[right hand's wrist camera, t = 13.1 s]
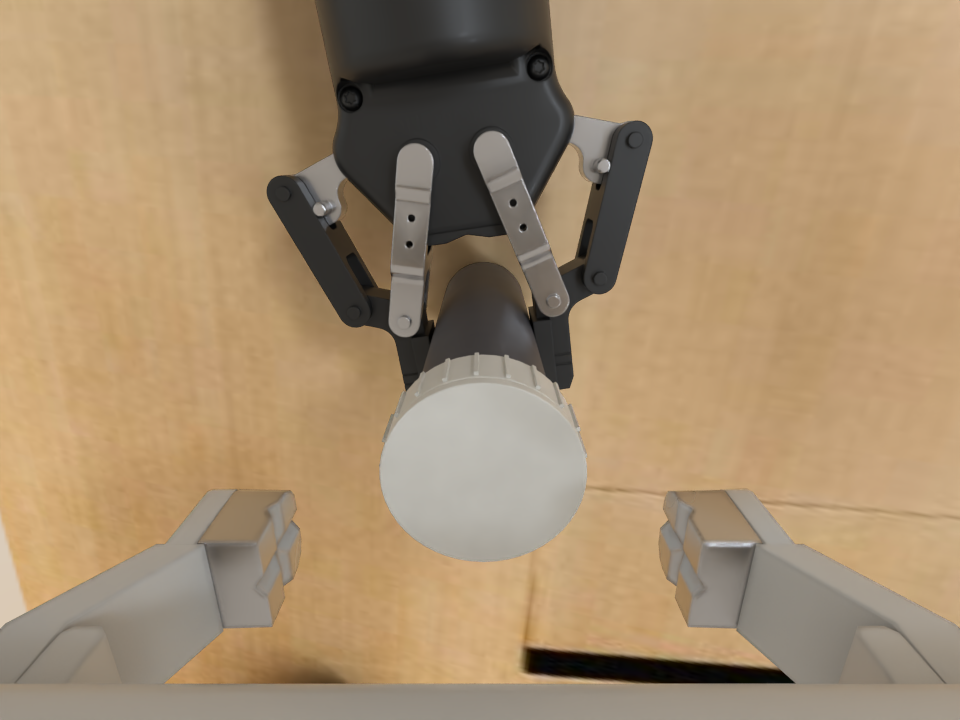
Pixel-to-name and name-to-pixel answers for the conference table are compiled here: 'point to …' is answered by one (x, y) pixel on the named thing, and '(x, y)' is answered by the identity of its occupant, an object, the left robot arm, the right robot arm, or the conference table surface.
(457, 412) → the lid
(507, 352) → the dark grey cylinder
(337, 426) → the conference table surface
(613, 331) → the conference table surface
